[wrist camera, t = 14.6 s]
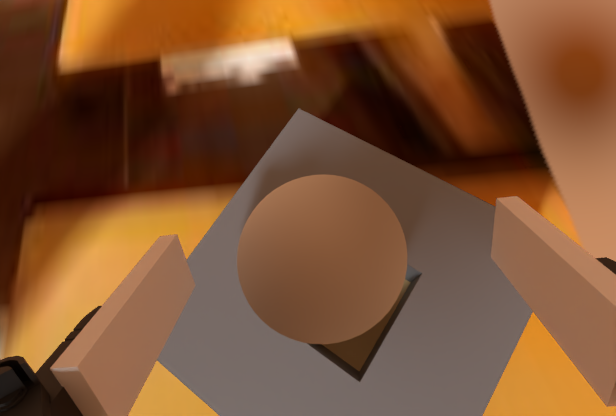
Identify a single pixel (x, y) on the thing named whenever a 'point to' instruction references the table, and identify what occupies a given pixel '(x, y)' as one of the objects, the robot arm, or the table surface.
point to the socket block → (380, 338)
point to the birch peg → (322, 259)
